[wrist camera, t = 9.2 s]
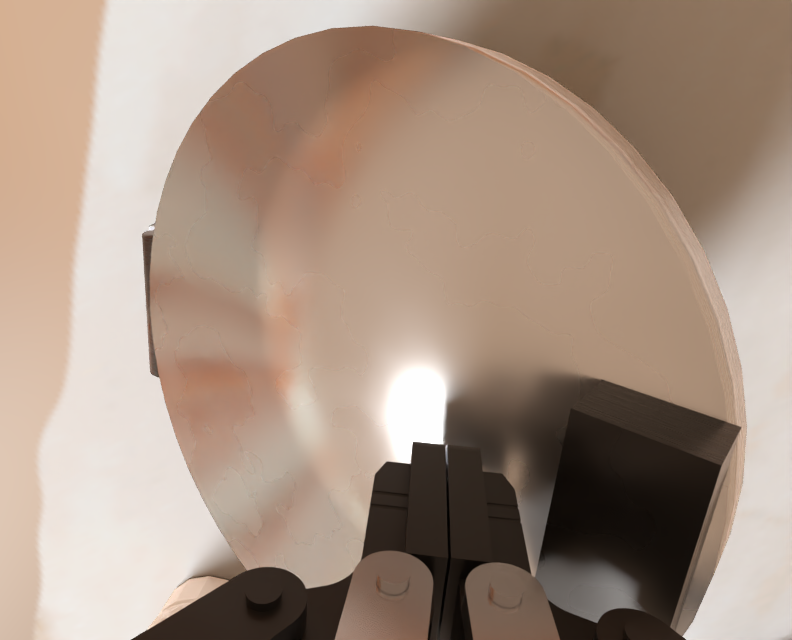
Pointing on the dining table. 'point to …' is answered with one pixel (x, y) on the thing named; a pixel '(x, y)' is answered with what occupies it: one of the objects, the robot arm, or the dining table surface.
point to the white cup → (188, 595)
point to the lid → (443, 317)
